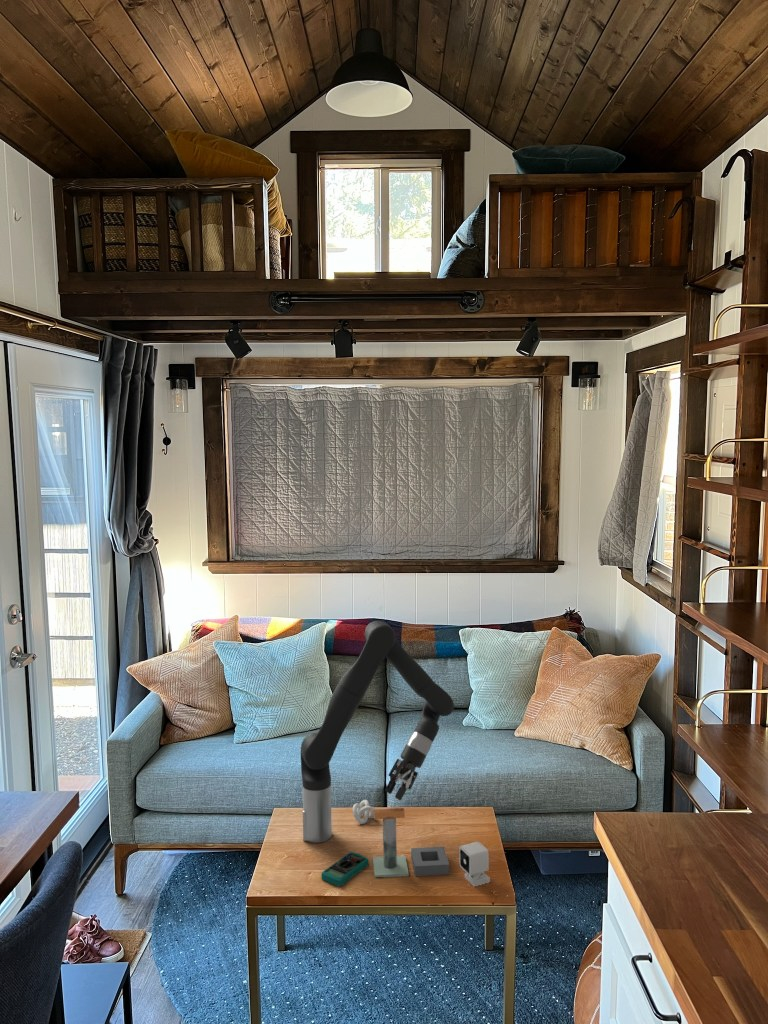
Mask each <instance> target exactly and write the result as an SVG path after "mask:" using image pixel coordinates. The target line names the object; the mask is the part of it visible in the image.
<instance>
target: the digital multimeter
mask: <svg viewBox="0 0 768 1024" xmlns="http://www.w3.org/2000/svg"><path fill="white" fill-rule="evenodd" d="M369 860H370V859H368V858H367V857H366V856H364V855H362V854H359V853H357V852H353V851H350V852H348V853H347V854H346V855H344V856H343V857H341V858H340V859H339V860H337V861H336V862H334V863H333V864H332V865H330V866H329V867H328V868H326V869H324V870H323V871H322V872H321V880H323V881H324V882H326V883H329V884H331V885H334V886H337V887H339V886H341V887H342V886H343V885H344V884H345V885H346V883H347V882H348V881H350V880H351V879H352V878H353V877H354V876H356V875H357V874H359V873H360V872H361V871H362V869H363V870H364V869H365V868H367V867H368V866H369V862H370V861H369ZM366 866H367V867H366ZM355 874H356V875H355ZM350 878H351V879H350Z"/></svg>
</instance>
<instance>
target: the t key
mask: <svg viewBox="0 0 768 1024" xmlns="http://www.w3.org/2000/svg"><path fill="white" fill-rule="evenodd" d="M402 818H403V819H404V818H406V817H405V808H404V807H397V808H382V809H380V808H379V809H375V810H374V818H373V819H374V820H382V845H383V846H382V847H383V848H382V851H383V854H382V855H383V856H382V857H384V867H385V868H389V869H392V868H395V867H396V866H397V856H398V854H397V852H398V850H397V846H398V845H397V819H402Z"/></svg>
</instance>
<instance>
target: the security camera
mask: <svg viewBox="0 0 768 1024" xmlns="http://www.w3.org/2000/svg"><path fill="white" fill-rule="evenodd" d="M458 851H459V852H458V853H459V855H458V858H459V867H460V868H461V869H462V870H463V871H464V872H465V873H464V879H465V878H466V879H467V880H468V883H470V885H472V886H473V887H474V888H475V886H476V887H479V886H478V885H480V886H482V884H483V885H486V884H485V883H487V884H490V883H491V877H490V876H489V875H487V873H485V872H487V871H490V870H489V866H490V865H489V863H490V862H489V860H490V858H489V857H490V856H489V855H490V854H489V853H490V852H489V850H488V848H486V847H485V846H484V845H483V844H482V843H481V842H480V841H475V842H471V843H467V844H463V845H460V846H459V849H458ZM466 879H465V880H466ZM467 880H466V881H467ZM489 882H490V883H489Z"/></svg>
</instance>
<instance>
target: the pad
mask: <svg viewBox="0 0 768 1024" xmlns="http://www.w3.org/2000/svg"><path fill="white" fill-rule="evenodd" d="M373 866H374V867H373ZM372 867H373V873H374V879H377V878H376V877H384V878H400V877H402V876H403V877H409V876H410V875H409V873H410V872H409V868H408V864H407V857H406V855H397V866H396V867H395V868H392V869H389V868H385V867H384V856H372Z"/></svg>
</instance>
